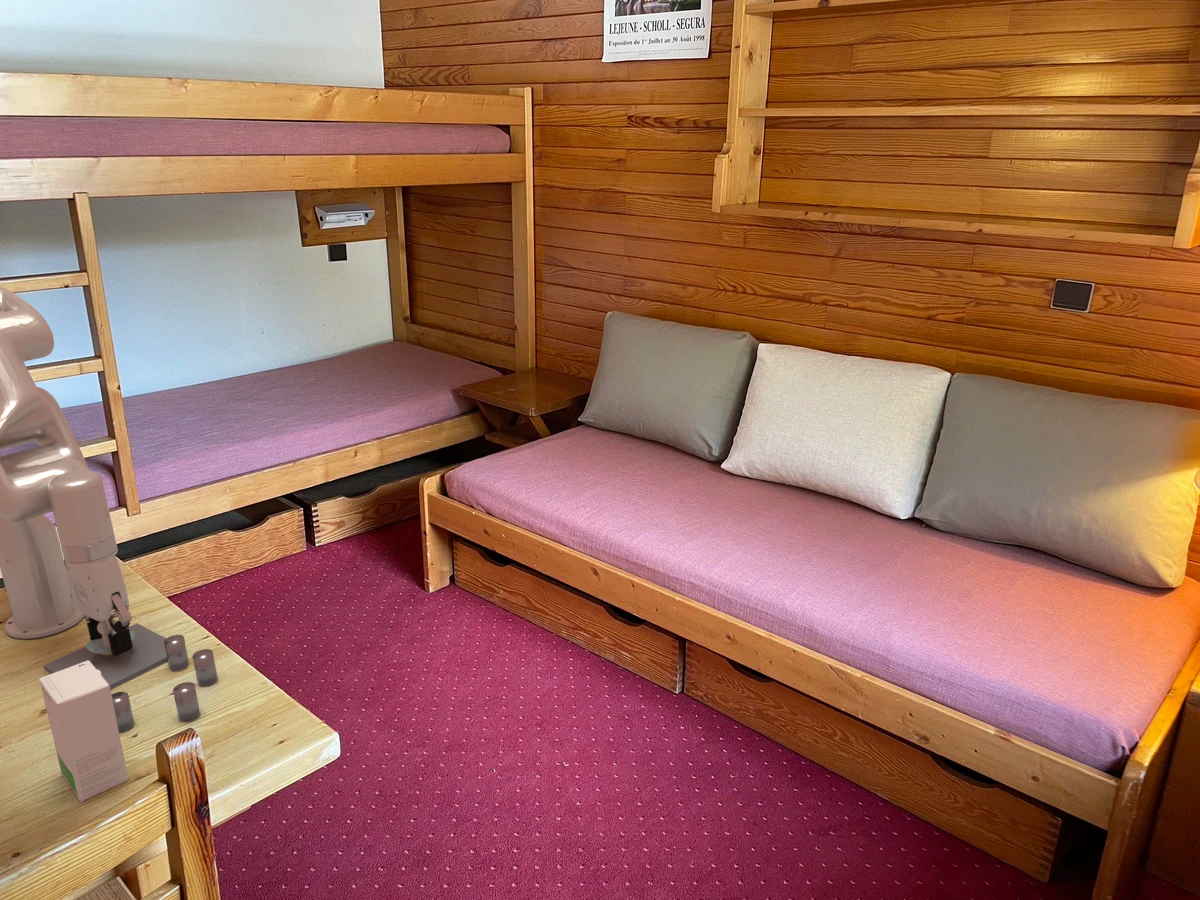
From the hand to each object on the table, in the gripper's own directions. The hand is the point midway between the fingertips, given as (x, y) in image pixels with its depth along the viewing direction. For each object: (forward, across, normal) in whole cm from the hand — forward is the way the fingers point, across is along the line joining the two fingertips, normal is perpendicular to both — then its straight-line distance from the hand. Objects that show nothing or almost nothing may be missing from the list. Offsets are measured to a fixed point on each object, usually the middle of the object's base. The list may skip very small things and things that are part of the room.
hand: (112, 645), depth 151 cm
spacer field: (+3, +18, -2) cm, 18 cm away
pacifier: (+1, -1, 0) cm, 1 cm away
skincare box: (+3, +27, -17) cm, 32 cm away
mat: (+3, 0, 0) cm, 3 cm away
